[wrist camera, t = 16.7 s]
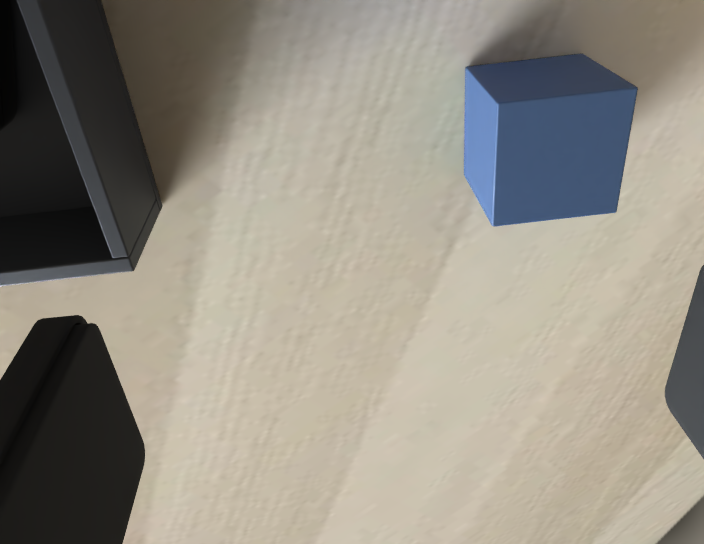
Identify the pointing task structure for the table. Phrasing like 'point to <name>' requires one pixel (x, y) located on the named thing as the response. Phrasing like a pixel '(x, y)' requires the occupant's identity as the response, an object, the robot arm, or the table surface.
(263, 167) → the table surface
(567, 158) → the blue block
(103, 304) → the table surface
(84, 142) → the charcoal bin
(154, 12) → the table surface
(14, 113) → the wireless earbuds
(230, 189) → the table surface
